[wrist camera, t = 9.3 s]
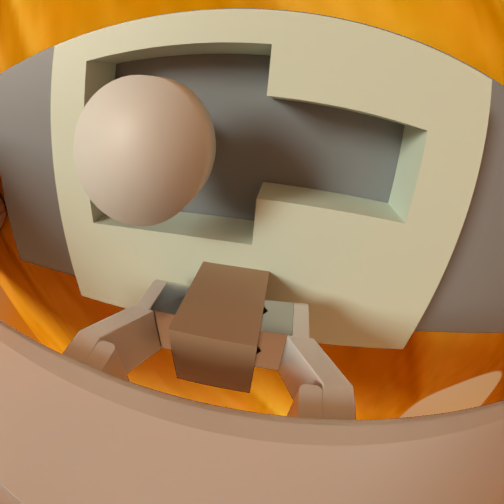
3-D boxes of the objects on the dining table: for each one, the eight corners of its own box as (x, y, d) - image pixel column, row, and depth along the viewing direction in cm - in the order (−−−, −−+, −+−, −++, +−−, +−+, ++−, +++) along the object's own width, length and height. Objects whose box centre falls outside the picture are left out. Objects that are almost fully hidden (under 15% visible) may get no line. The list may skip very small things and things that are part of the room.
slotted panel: (84, 48, 8) (-13, 47, 3) (463, 80, 7) (560, 86, 2) (100, 274, 14) (43, 341, 9) (393, 320, 13) (419, 411, 8)
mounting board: (3, 74, 9) (-51, 86, 5) (588, 166, 6) (629, 192, 2) (25, 255, 16) (-13, 289, 12) (525, 326, 12) (548, 367, 9)
